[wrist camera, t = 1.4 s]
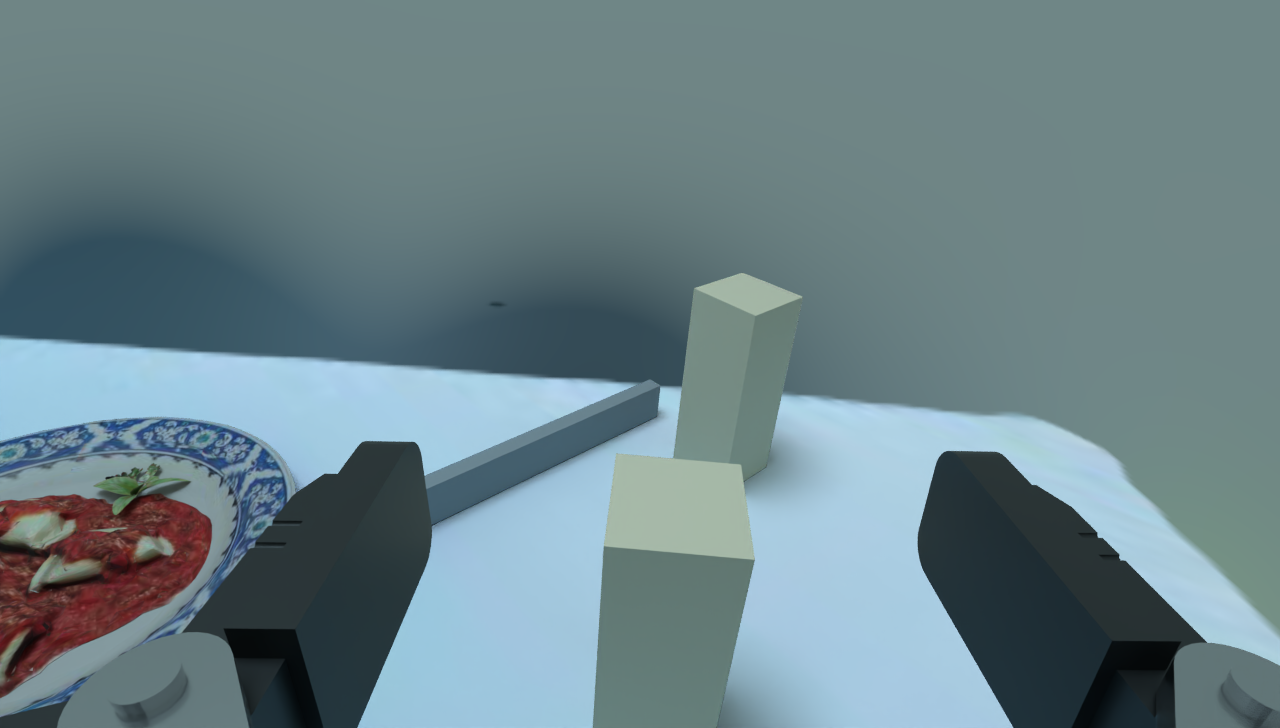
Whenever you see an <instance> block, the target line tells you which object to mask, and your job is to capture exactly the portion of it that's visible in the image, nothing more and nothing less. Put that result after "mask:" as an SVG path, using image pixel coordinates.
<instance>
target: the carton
mask: <svg viewBox="0 0 1280 728" xmlns="http://www.w3.org/2000/svg"><path fill="white" fill-rule="evenodd" d="M754 561H755V558H754V551H753V544H752V537H751V530H750V524H749V517H748V510H747V503H746V496H745V489H744V482H743V475H742V468H741V465H740V464H729V463H717V462H706V461H695V460H684V459H672V458H661V457H650V456H638V455H627V454H616V459H615V467H614V474H613V482H612V489H611V497H610V504H609V512H608V519H607V527H606V534H605V541H604V552H603V569H602V585H601V602H600V618H599V634H598V651H597V667H596V684H595V700H594V717H593V728H717V724H718V720H719V715H720V711H721V706H722V702H723V698H724V693H725V689H726V684H727V680H728V676H729V671H730V667H731V662H732V658H733V653H734V649H735V645H736V640H737V636H738V631H739V627H740V623H741V618H742V614H743V609H744V605H745V601H746V596H747V592H748V587H749V583H750V578H751V574H752V570H753V565H754Z"/></svg>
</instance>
